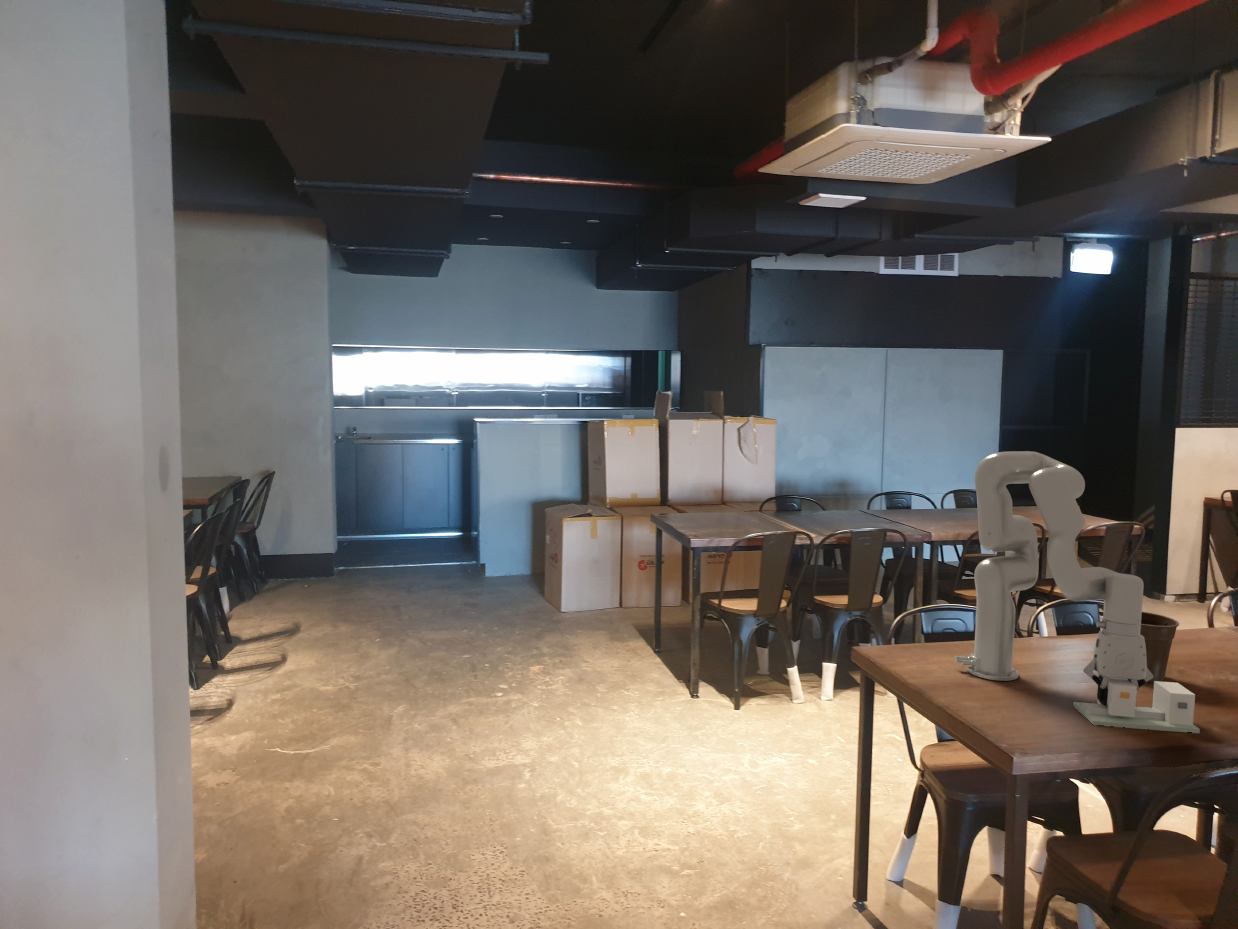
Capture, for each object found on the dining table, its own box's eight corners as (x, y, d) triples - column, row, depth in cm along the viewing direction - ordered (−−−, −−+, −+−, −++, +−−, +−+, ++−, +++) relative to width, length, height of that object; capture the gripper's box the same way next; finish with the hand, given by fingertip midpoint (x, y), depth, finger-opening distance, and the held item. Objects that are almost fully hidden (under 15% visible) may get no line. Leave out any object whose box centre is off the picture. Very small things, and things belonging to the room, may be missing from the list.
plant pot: (1168, 671, 227) (1173, 614, 226) (1180, 690, 212) (1184, 628, 211) (1100, 662, 234) (1104, 606, 232) (1107, 680, 219) (1111, 620, 218)
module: (1112, 716, 189) (1114, 685, 188) (1096, 702, 197) (1098, 673, 196) (1135, 718, 188) (1138, 687, 187) (1119, 704, 196) (1121, 675, 196)
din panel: (1092, 725, 188) (1095, 690, 187) (1073, 706, 200) (1075, 673, 199) (1199, 733, 184) (1202, 698, 184) (1173, 713, 196) (1175, 680, 196)
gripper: (1087, 630, 189) (1082, 707, 190) (1169, 634, 186) (1163, 713, 187) (1075, 621, 196) (1070, 696, 198) (1153, 625, 193) (1148, 701, 195)
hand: (1115, 703), depth 193 cm, fingers closed on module, 4 cm apart
